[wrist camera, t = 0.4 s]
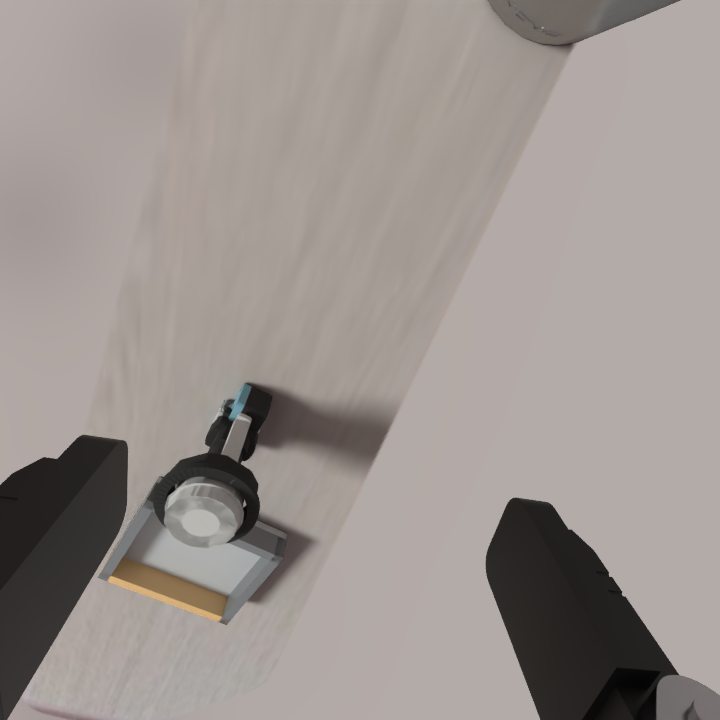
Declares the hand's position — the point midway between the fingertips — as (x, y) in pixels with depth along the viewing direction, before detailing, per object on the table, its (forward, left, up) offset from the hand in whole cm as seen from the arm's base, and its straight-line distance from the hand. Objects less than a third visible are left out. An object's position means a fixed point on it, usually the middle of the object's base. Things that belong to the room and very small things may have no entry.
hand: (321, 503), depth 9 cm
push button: (+13, 0, -20) cm, 23 cm away
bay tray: (+25, +3, -19) cm, 32 cm away
